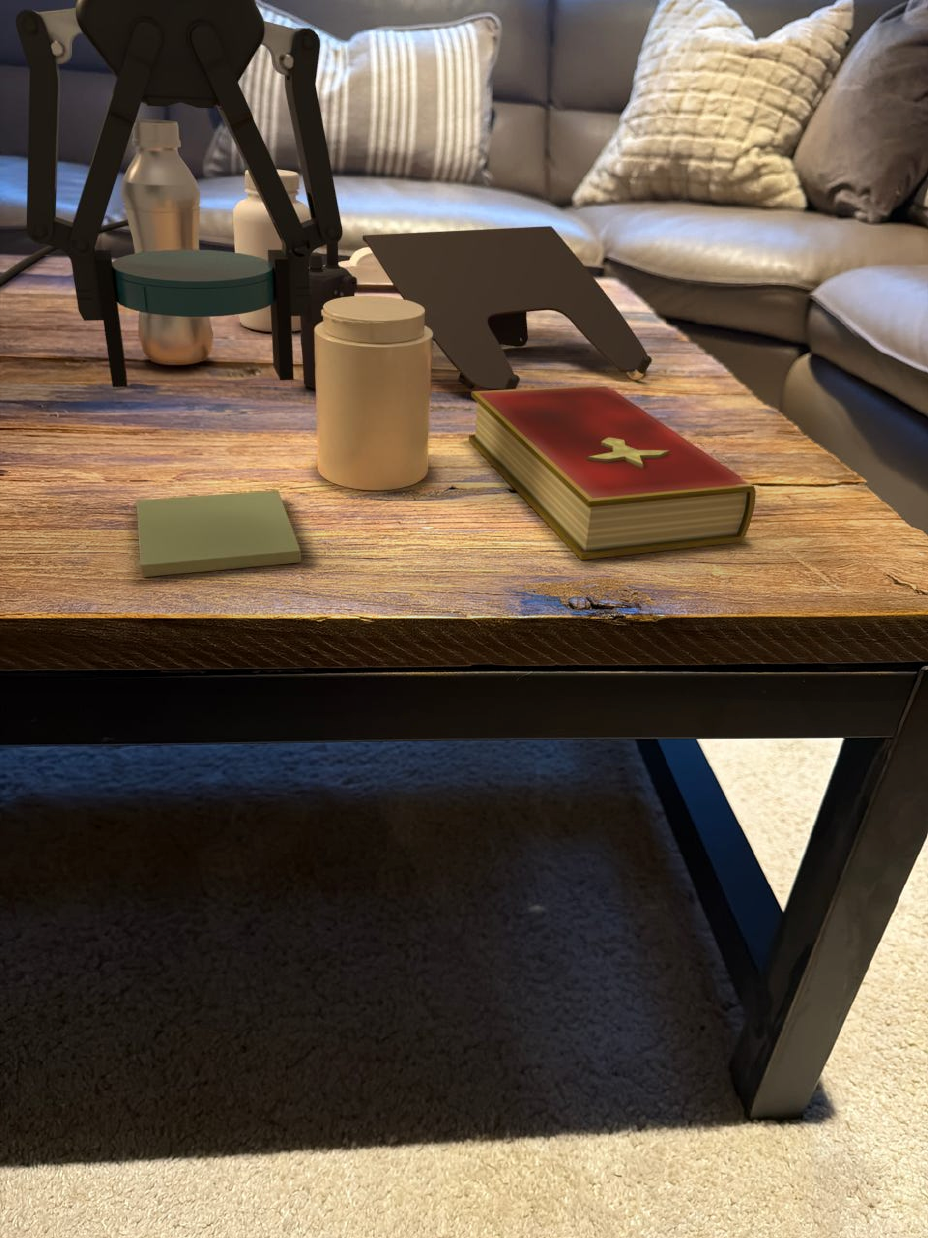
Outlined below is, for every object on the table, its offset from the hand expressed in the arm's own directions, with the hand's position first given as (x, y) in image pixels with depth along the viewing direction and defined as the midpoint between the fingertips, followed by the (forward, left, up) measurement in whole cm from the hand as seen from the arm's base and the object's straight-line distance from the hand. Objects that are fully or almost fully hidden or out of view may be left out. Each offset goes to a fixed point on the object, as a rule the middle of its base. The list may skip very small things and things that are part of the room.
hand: (203, 375), depth 53 cm
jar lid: (0, 0, +6) cm, 6 cm away
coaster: (0, 0, -10) cm, 10 cm away
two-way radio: (-29, +13, -10) cm, 33 cm away
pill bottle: (-50, +11, -10) cm, 52 cm away
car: (-67, +25, -10) cm, 72 cm away
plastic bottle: (-37, 0, -10) cm, 38 cm away
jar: (-9, +12, -10) cm, 18 cm away
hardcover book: (-3, +27, -10) cm, 29 cm away
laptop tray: (-33, +32, -10) cm, 47 cm away
